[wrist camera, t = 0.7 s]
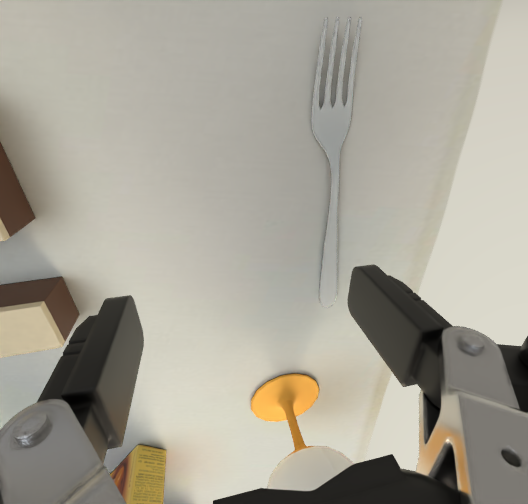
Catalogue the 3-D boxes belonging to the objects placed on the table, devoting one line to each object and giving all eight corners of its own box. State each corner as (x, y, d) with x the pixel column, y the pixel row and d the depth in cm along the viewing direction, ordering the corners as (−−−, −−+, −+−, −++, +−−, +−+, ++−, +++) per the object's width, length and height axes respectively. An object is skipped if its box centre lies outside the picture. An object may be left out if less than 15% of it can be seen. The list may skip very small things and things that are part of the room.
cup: (232, 429, 37) (256, 643, 23) (250, 365, 32) (296, 588, 18) (313, 423, 41) (379, 606, 26) (340, 364, 36) (441, 550, 21)
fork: (313, 310, 30) (319, 321, 29) (308, 24, 18) (318, 17, 17) (341, 304, 31) (348, 314, 29) (354, 20, 19) (368, 13, 17)
